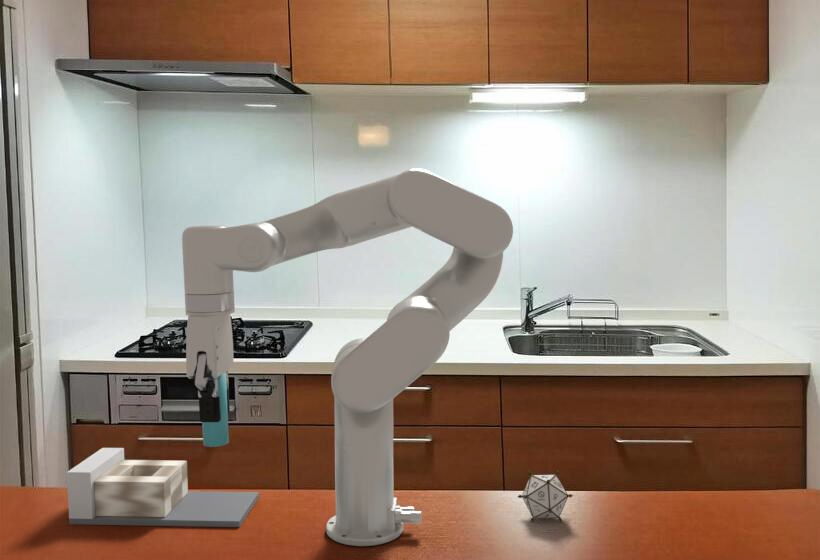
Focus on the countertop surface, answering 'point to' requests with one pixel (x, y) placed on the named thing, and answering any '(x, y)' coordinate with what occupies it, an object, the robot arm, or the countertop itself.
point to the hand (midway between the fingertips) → (215, 416)
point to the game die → (544, 496)
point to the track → (188, 512)
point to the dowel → (218, 431)
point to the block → (141, 488)
